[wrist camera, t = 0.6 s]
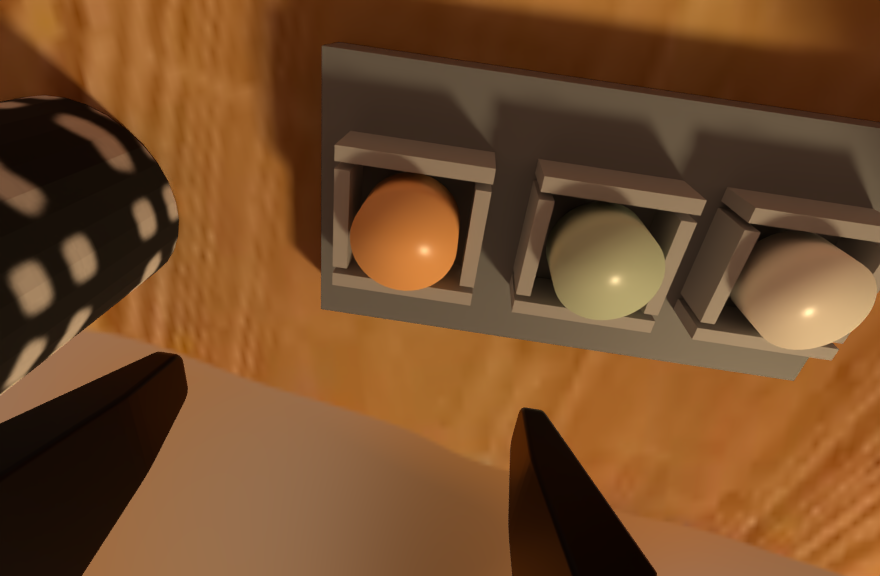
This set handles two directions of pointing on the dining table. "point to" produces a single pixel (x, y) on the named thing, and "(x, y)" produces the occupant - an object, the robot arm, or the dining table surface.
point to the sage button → (604, 261)
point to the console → (587, 197)
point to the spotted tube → (72, 224)
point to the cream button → (803, 290)
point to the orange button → (406, 232)
